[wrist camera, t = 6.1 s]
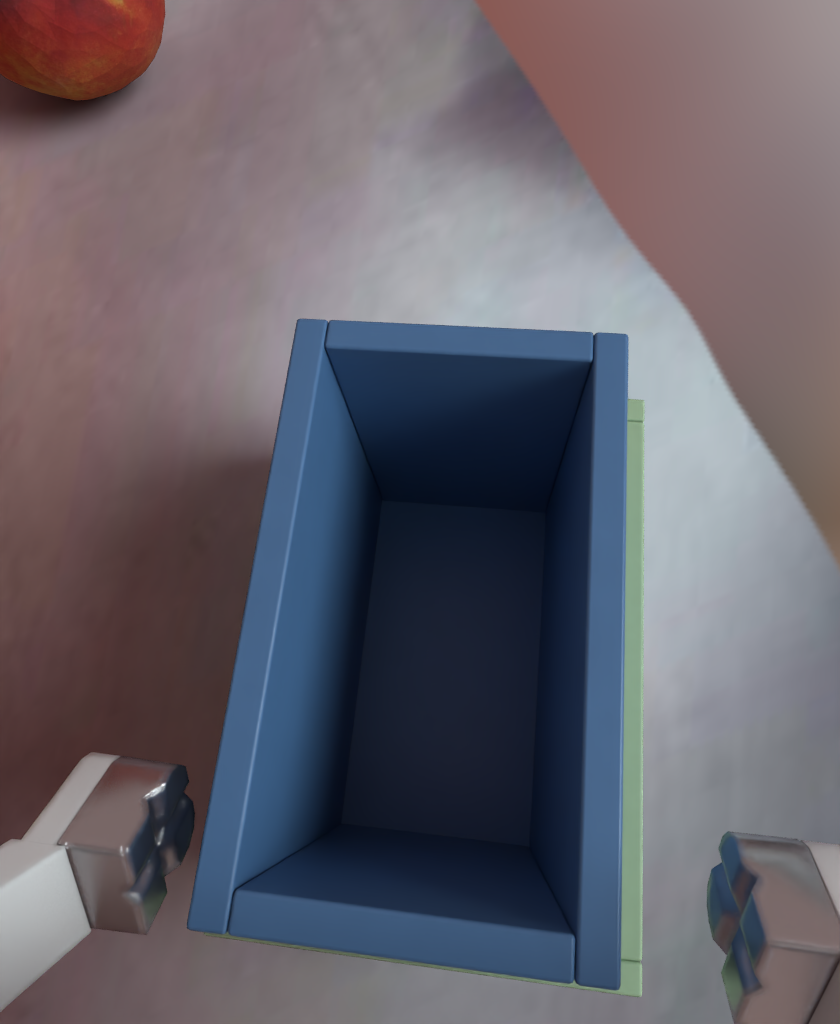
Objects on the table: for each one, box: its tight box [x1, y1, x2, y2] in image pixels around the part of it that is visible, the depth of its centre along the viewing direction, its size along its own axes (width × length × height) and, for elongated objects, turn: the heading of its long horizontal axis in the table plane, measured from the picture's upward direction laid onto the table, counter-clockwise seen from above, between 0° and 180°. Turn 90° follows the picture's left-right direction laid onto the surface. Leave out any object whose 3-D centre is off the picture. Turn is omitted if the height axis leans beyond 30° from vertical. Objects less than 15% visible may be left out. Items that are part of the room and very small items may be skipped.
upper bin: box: [187, 319, 628, 991], centre depth 15 cm, size 10×6×9 cm, turn 174°
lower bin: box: [204, 399, 644, 997], centre depth 18 cm, size 13×9×5 cm
